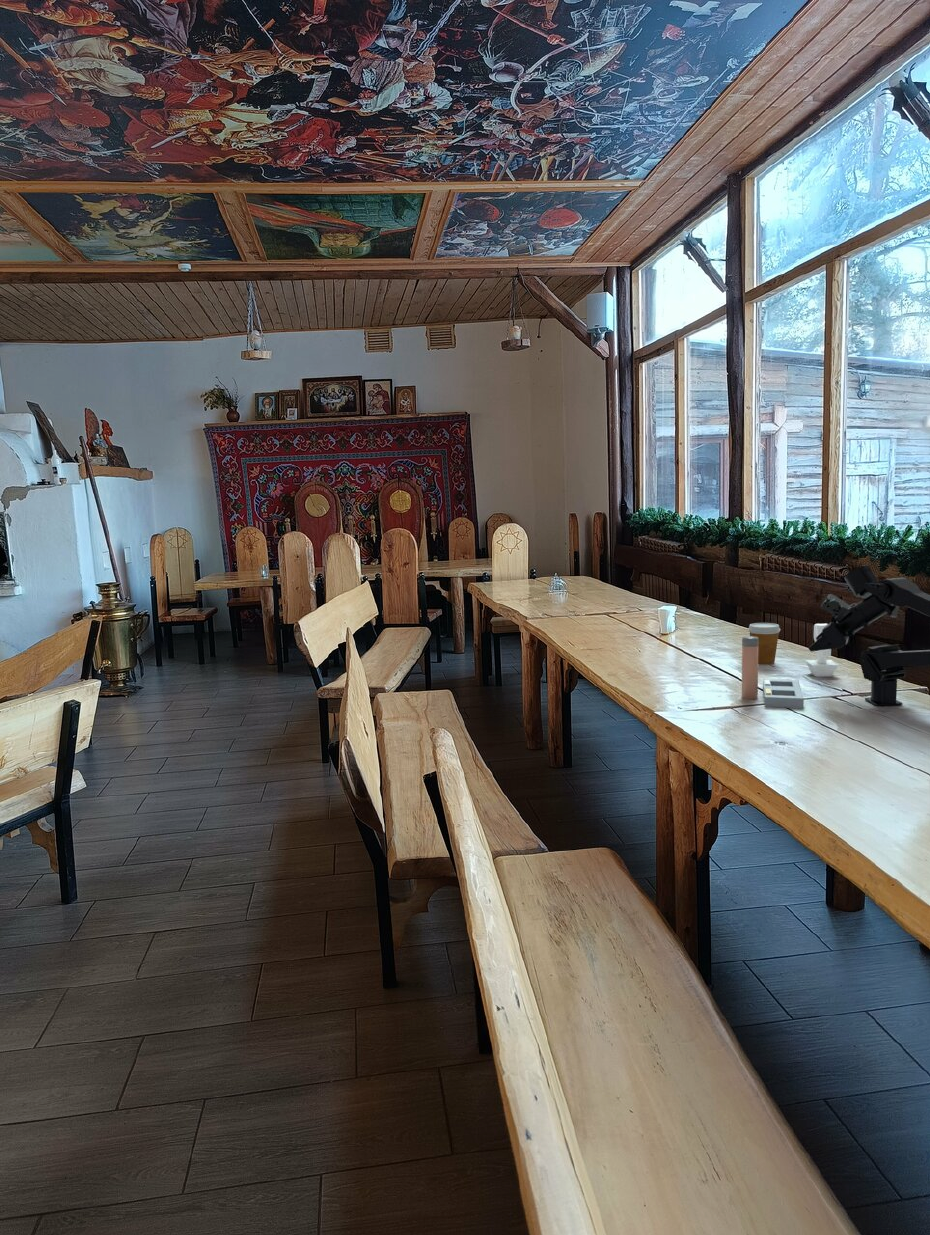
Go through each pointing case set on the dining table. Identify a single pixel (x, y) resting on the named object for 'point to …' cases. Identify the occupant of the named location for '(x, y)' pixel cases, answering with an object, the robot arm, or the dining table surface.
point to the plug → (750, 667)
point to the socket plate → (782, 693)
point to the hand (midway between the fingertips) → (813, 644)
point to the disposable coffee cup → (765, 641)
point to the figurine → (821, 658)
